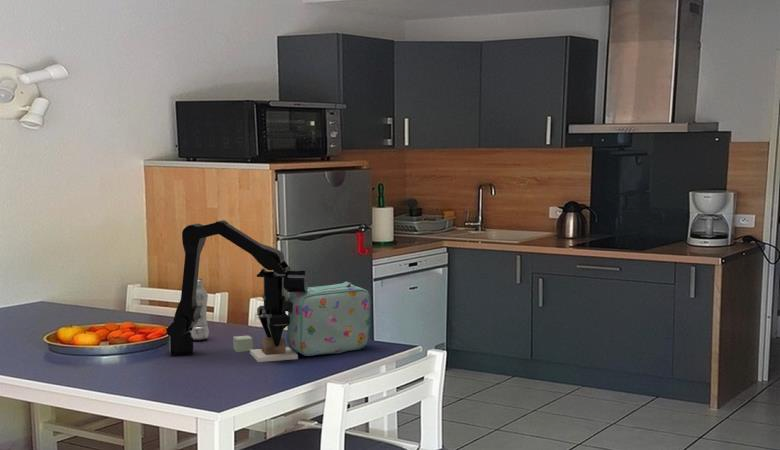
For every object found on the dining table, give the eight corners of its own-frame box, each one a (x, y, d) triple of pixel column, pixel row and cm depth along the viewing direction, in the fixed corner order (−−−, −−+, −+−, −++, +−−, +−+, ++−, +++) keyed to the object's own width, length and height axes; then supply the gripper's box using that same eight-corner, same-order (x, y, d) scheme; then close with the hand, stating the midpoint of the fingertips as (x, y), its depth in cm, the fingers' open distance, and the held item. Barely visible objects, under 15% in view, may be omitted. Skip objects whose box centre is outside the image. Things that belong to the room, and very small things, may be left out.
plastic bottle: (206, 342, 298) (205, 280, 296) (185, 342, 298) (184, 280, 296) (210, 338, 304) (210, 278, 302) (190, 337, 304) (189, 277, 303)
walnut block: (265, 355, 274) (265, 341, 274) (261, 350, 280) (261, 337, 279) (285, 353, 276) (285, 340, 276) (281, 349, 282) (281, 336, 281)
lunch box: (356, 343, 297) (356, 277, 295) (374, 349, 289) (375, 281, 287) (284, 354, 281) (283, 284, 280) (301, 360, 273) (301, 288, 271)
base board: (258, 362, 270) (258, 358, 270) (249, 353, 282) (249, 349, 282) (297, 359, 274) (297, 355, 274) (288, 350, 286) (288, 346, 286)
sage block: (236, 352, 284) (236, 339, 283) (233, 349, 288) (233, 336, 288) (252, 351, 286) (252, 338, 285) (248, 347, 290) (248, 335, 290)
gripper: (307, 295, 270) (307, 347, 272) (291, 286, 288) (292, 335, 289) (269, 297, 267) (270, 350, 268) (256, 287, 284) (256, 337, 285)
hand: (273, 343), depth 278 cm, fingers open, 9 cm apart
